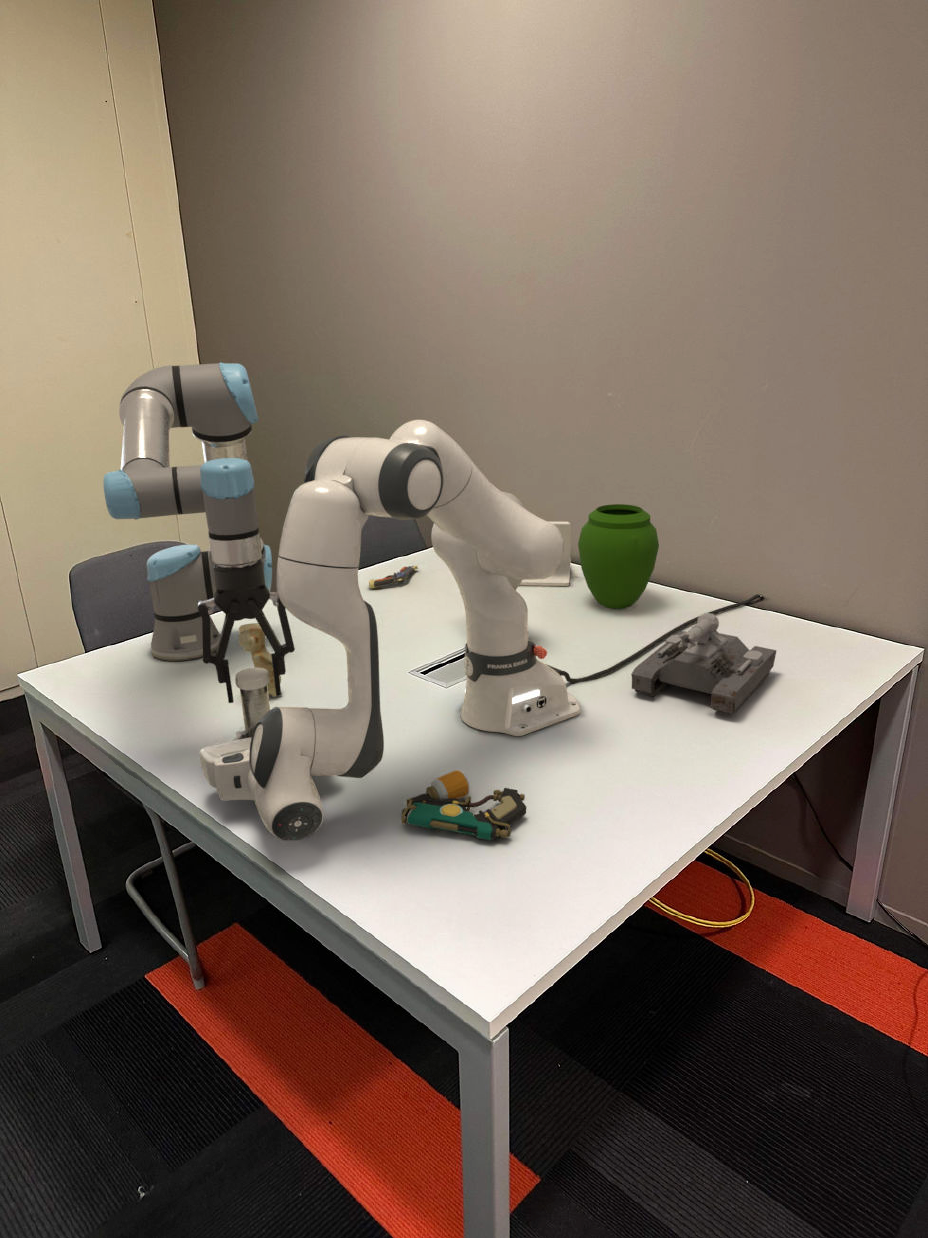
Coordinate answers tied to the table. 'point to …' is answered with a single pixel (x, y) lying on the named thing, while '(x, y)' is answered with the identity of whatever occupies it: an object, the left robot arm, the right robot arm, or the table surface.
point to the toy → (706, 665)
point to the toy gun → (393, 577)
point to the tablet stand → (563, 571)
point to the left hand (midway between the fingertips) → (254, 695)
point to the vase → (618, 554)
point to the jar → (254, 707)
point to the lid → (252, 678)
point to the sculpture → (258, 651)
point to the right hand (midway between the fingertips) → (258, 731)
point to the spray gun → (463, 808)
